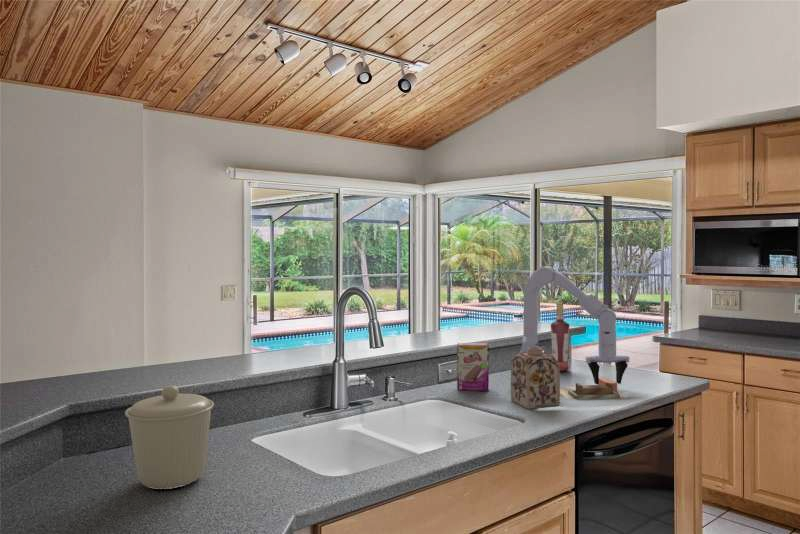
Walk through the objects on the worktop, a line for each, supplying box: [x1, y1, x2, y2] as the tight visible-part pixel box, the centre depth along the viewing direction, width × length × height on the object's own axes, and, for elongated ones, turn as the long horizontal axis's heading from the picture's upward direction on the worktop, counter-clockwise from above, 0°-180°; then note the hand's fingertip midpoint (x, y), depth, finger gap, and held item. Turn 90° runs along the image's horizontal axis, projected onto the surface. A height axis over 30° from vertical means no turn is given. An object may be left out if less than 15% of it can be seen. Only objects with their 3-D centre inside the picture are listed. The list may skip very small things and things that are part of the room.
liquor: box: [550, 301, 570, 373], centre depth 238 cm, size 7×7×28 cm
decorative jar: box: [510, 346, 561, 410], centre depth 189 cm, size 12×12×18 cm
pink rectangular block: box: [597, 377, 618, 392], centre depth 202 cm, size 4×8×3 cm, turn 1°
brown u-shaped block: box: [575, 382, 613, 395], centre depth 193 cm, size 11×4×4 cm, turn 92°
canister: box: [124, 385, 215, 488], centre depth 128 cm, size 18×18×21 cm
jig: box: [560, 386, 629, 400], centre depth 198 cm, size 20×16×2 cm
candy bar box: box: [456, 342, 490, 392], centre depth 208 cm, size 11×5×16 cm, turn 84°
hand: (607, 383), depth 202 cm, fingers open, 7 cm apart
